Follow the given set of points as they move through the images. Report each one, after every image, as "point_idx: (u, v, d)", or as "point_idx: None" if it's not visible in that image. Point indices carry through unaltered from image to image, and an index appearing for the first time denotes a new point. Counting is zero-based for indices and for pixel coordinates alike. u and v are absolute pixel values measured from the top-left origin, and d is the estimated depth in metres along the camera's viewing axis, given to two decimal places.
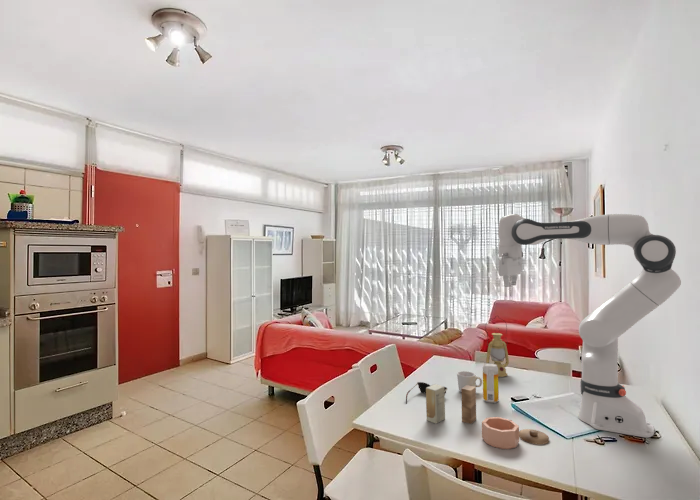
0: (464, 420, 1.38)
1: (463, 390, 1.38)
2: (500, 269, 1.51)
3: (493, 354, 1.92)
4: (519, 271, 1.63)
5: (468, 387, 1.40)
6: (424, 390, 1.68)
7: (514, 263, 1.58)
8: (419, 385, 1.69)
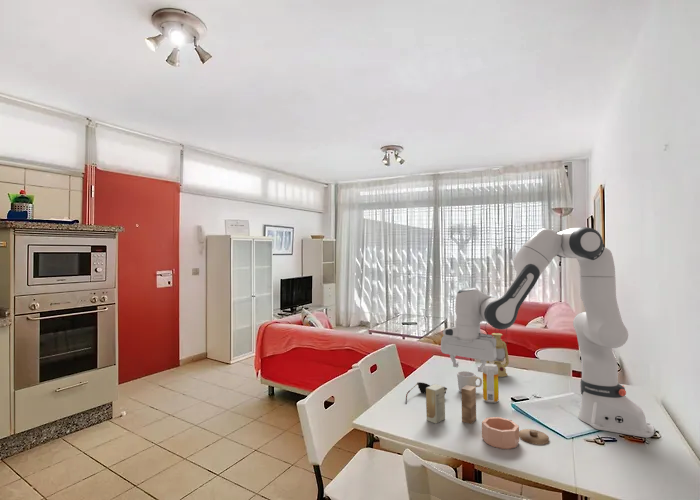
0: (464, 420, 1.38)
1: (463, 390, 1.38)
2: (494, 354, 1.33)
3: None
4: None
5: (468, 387, 1.40)
6: (424, 390, 1.68)
7: None
8: (419, 385, 1.69)
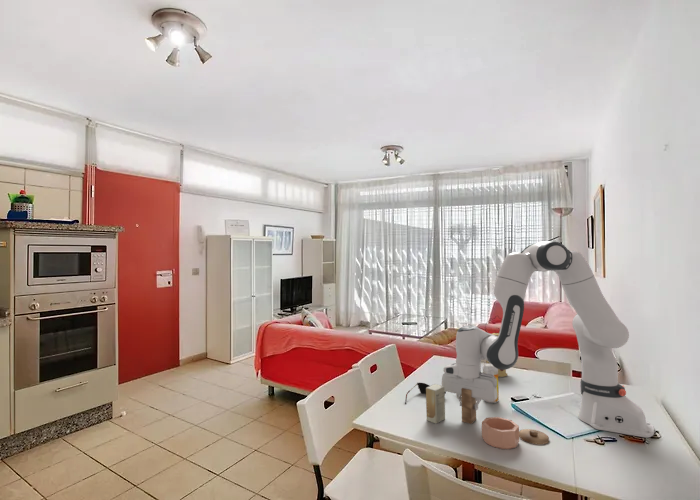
0: (464, 420, 1.38)
1: (463, 390, 1.38)
2: (495, 394, 1.33)
3: None
4: None
5: None
6: (424, 390, 1.67)
7: None
8: (419, 385, 1.68)
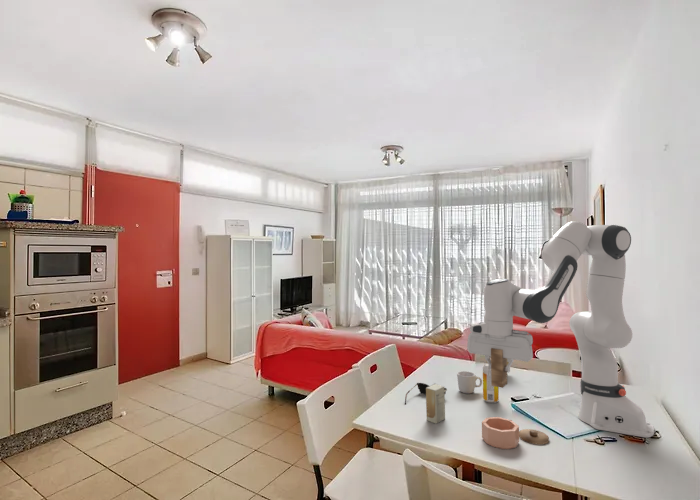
0: (494, 384, 1.23)
1: (493, 350, 1.23)
2: (530, 353, 1.17)
3: None
4: None
5: None
6: (423, 391, 1.67)
7: None
8: (418, 386, 1.68)
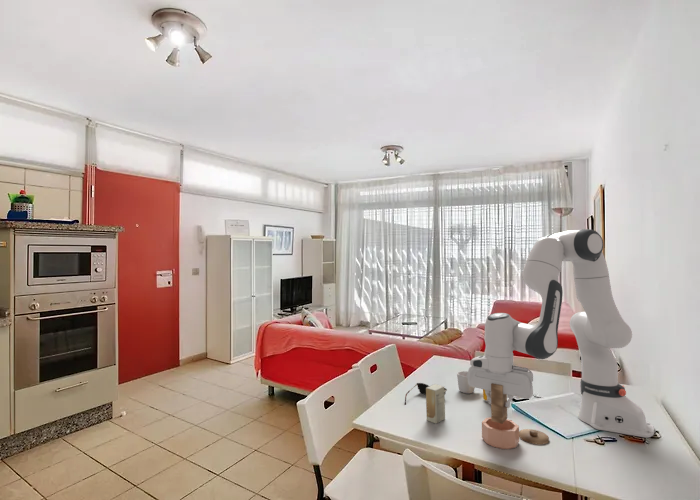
0: (494, 419, 1.22)
1: (493, 385, 1.23)
2: (530, 390, 1.17)
3: None
4: None
5: None
6: (423, 391, 1.67)
7: None
8: (418, 386, 1.68)
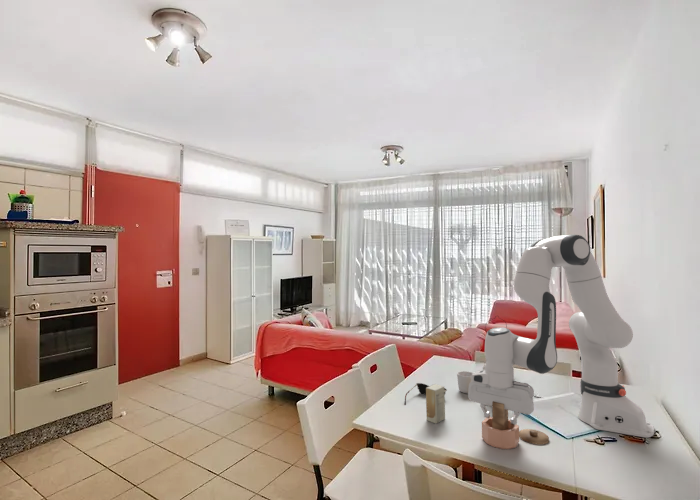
0: None
1: (494, 404, 1.23)
2: (531, 406, 1.17)
3: None
4: None
5: None
6: (423, 391, 1.67)
7: None
8: (418, 386, 1.68)
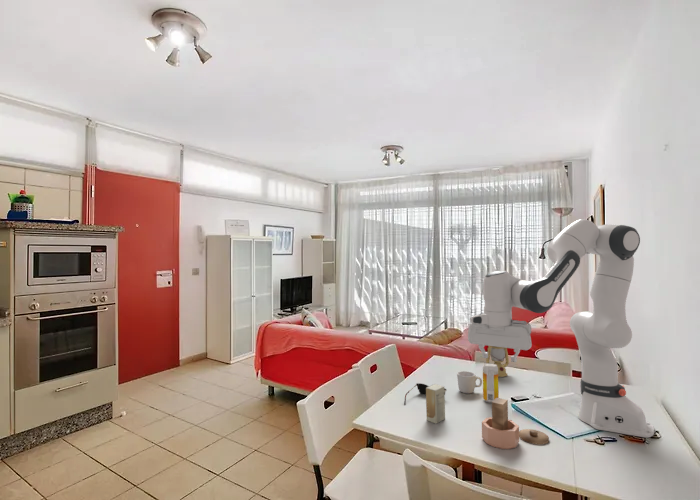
0: None
1: (494, 404, 1.23)
2: (529, 342, 1.21)
3: (493, 354, 1.92)
4: None
5: (499, 400, 1.24)
6: (423, 391, 1.66)
7: None
8: (418, 386, 1.67)
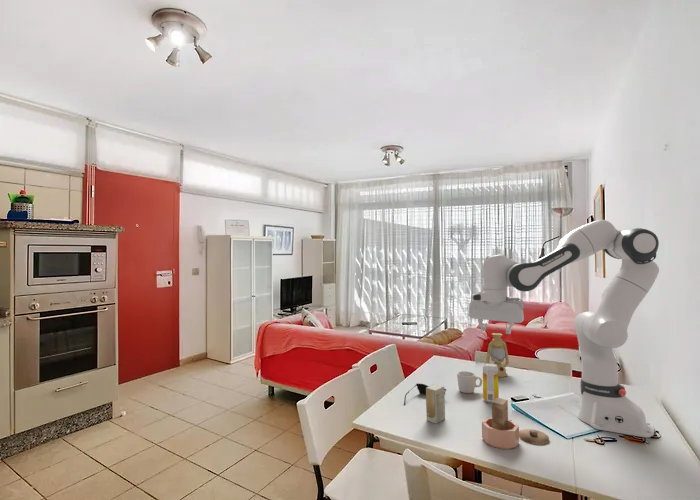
0: None
1: (494, 404, 1.23)
2: (521, 316, 1.40)
3: (493, 354, 1.92)
4: None
5: (499, 400, 1.24)
6: (423, 391, 1.66)
7: None
8: (418, 386, 1.67)
